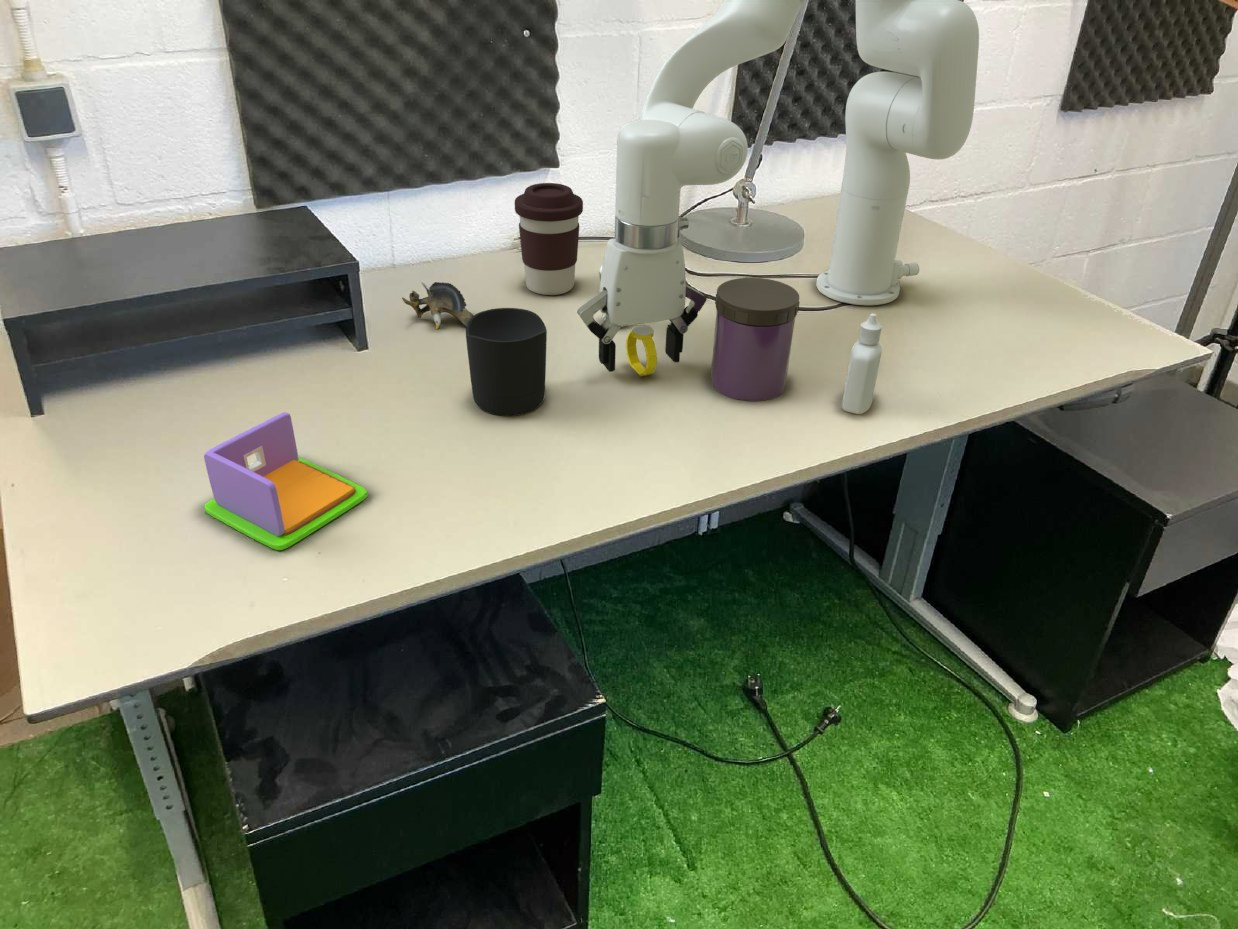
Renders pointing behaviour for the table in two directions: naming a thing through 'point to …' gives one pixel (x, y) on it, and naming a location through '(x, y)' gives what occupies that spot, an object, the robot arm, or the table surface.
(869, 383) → the eye dropper bottle
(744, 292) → the jar lid
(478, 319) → the pen holder
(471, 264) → the table surface
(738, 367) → the jar
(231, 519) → the dollhouse room
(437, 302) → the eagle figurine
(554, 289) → the coffee cup
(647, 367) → the watch
